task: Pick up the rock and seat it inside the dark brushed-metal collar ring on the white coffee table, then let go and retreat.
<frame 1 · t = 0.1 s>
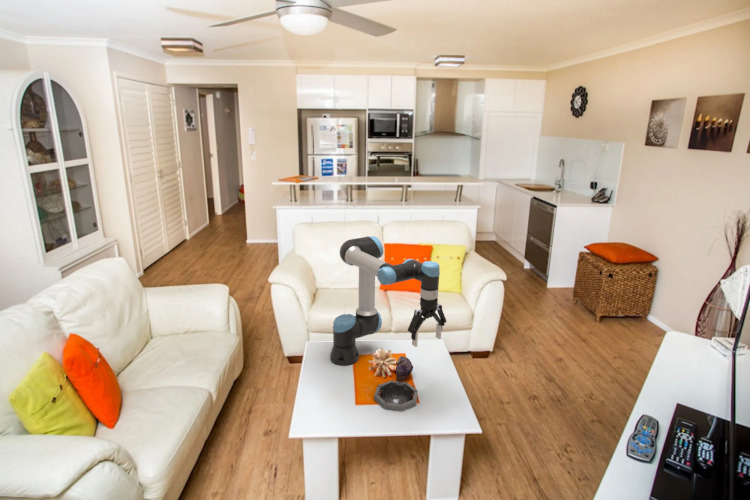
hand: (426, 341, 196), 28 cm above the table, fingers open, 13 cm apart
collar: (396, 397, 203), on the table
rock: (402, 375, 221), on the table
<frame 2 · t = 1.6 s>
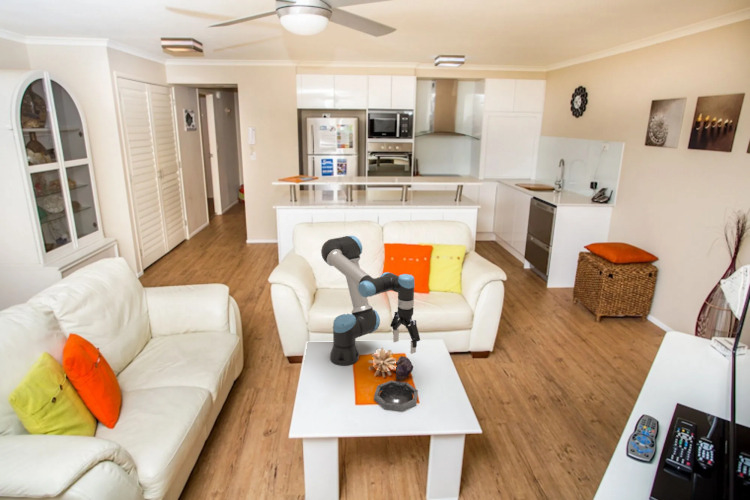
hand: (404, 347, 216), 16 cm above the table, fingers open, 13 cm apart
nothing on the table moved.
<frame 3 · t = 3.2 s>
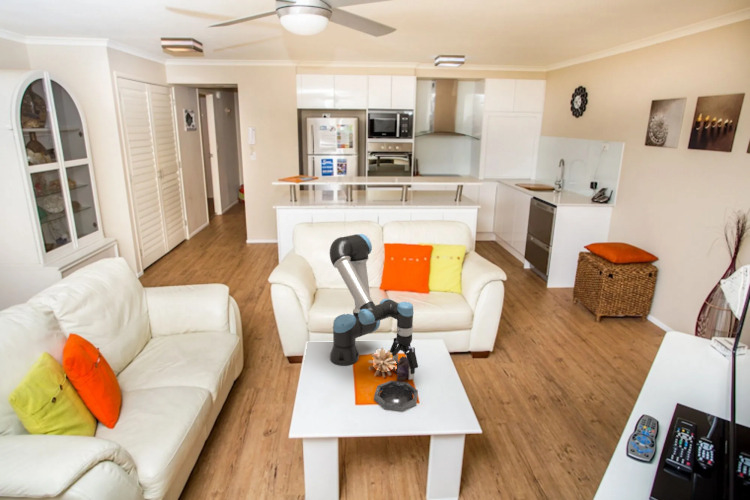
hand: (403, 372, 220), 1 cm above the table, fingers closed on rock, 12 cm apart
rock: (403, 376, 220), on the table, touching gripper
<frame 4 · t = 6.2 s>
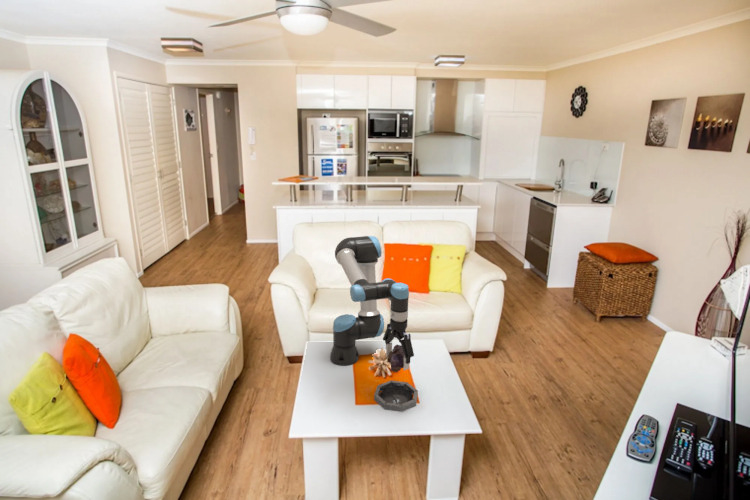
hand: (397, 362, 198), 18 cm above the table, fingers closed on rock, 12 cm apart
rock: (398, 366, 198), point 16 cm above the table, touching gripper
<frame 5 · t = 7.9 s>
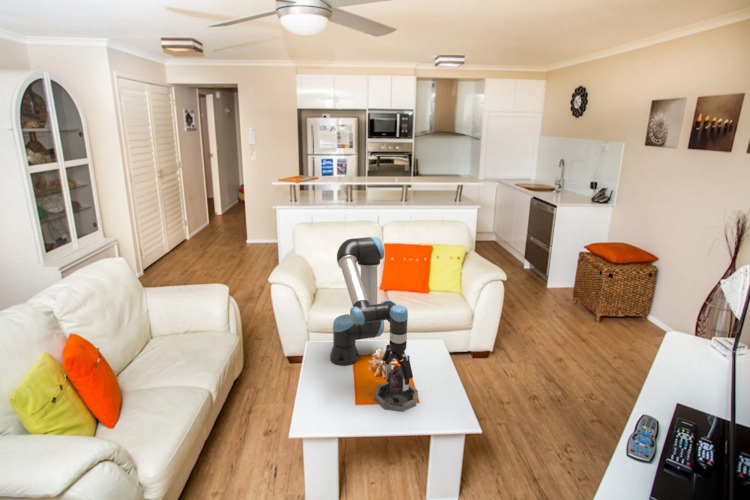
hand: (396, 383, 201), 8 cm above the table, fingers closed on rock, 12 cm apart
rock: (397, 387, 201), point 6 cm above the table, touching gripper
when the fingers open (4 cm above the table, at t = 9.4 s): rock drops 2 cm, resting on collar.
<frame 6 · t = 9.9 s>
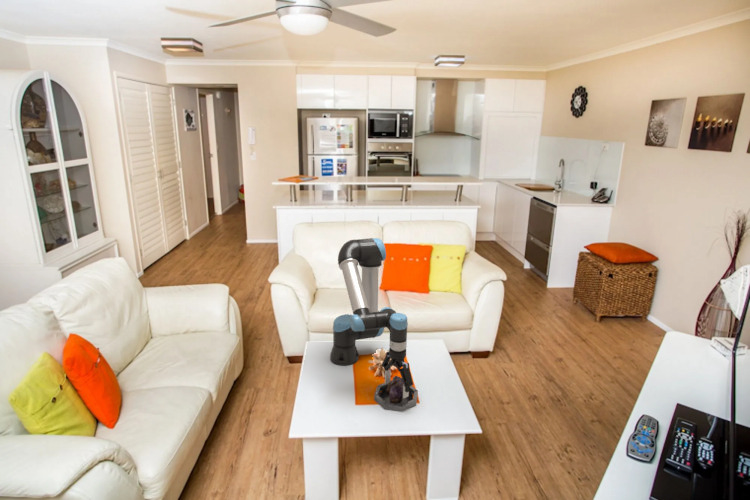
hand: (396, 389, 202), 4 cm above the table, fingers open, 13 cm apart
rock: (396, 397, 202), resting on collar
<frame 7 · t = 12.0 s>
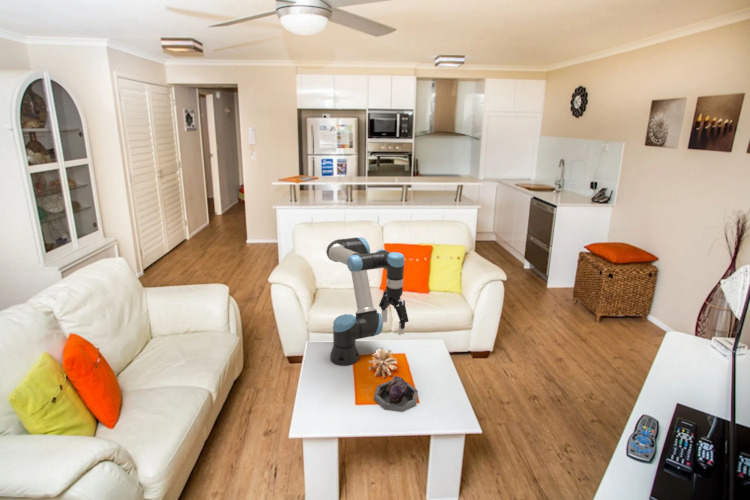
hand: (392, 328, 209), 28 cm above the table, fingers open, 13 cm apart
nothing on the table moved.
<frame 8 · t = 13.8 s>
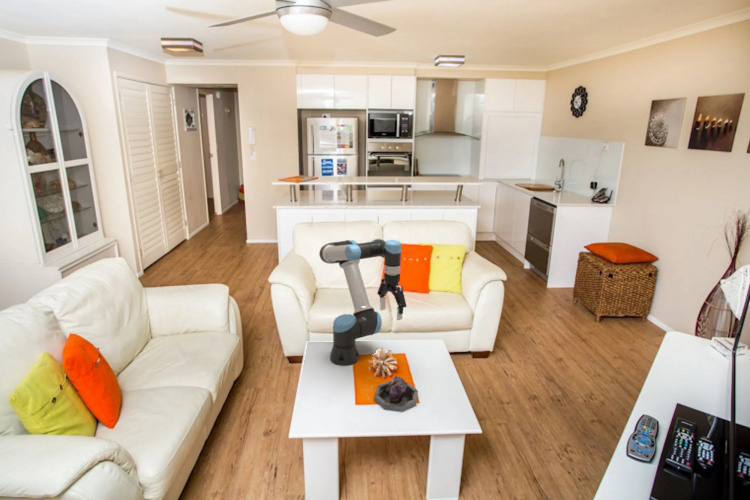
hand: (390, 314, 214), 32 cm above the table, fingers open, 13 cm apart
nothing on the table moved.
at the end: rock 0.6 cm from the collar (horizontally); the gripper is holding nothing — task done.
